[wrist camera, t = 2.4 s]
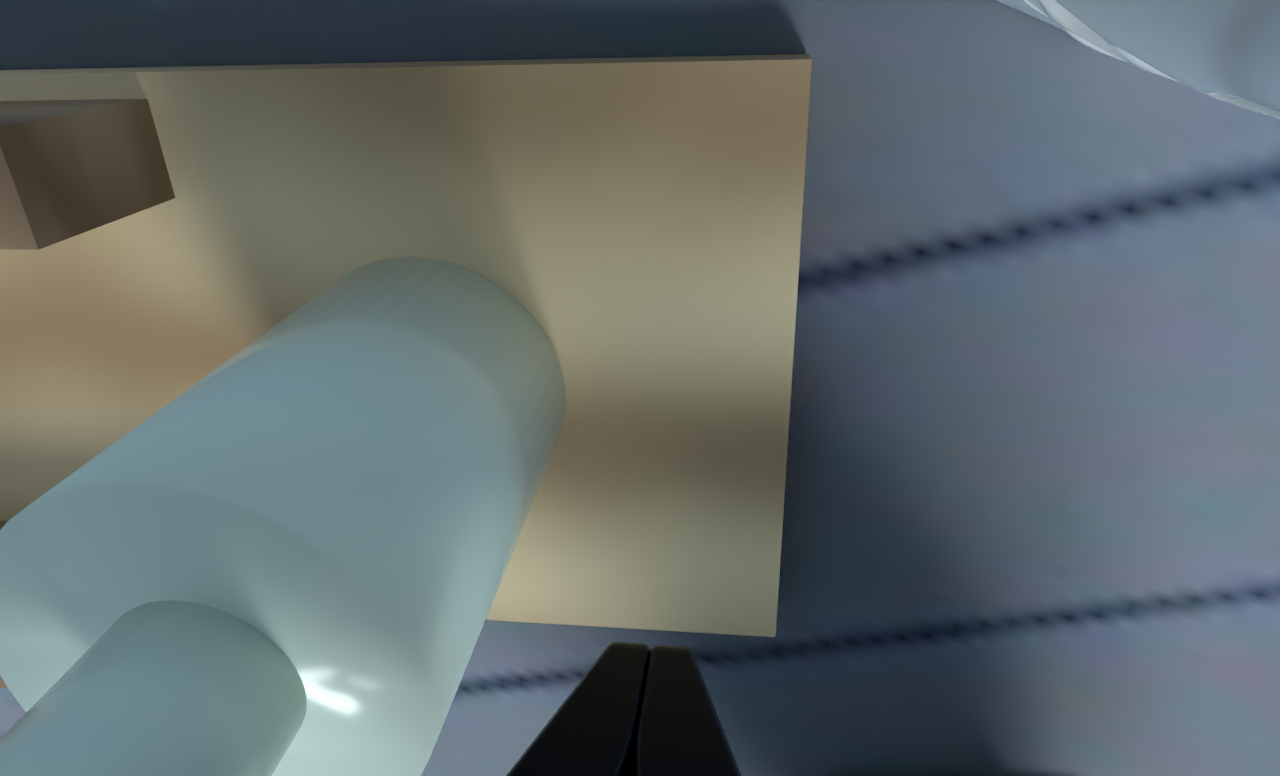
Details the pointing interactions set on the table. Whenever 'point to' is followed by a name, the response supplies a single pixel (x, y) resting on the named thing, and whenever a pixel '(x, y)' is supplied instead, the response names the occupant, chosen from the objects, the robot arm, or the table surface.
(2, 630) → the bottle
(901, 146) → the table surface
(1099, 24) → the white cup
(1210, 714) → the table surface
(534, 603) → the cradle board
